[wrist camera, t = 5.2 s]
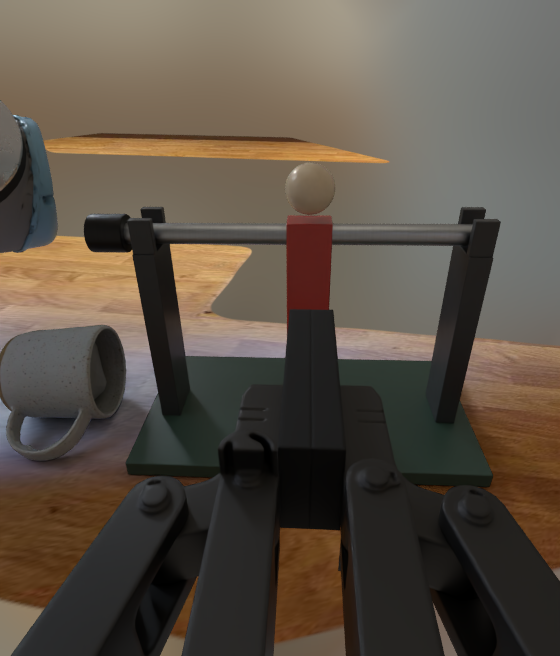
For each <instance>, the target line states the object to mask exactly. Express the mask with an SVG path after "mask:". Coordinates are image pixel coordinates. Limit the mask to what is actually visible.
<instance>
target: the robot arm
mask: <svg viewBox="0 0 560 656" xmlns="http://www.w3.org/2000/svg"><path fill="white" fill-rule="evenodd" d="M57 230H58V223H57V213H56V205H55V200H54V198H53V187H52V179H51V174H50V169H49V164H48V159H47V154H46V150H45V146H44V142H43V138H42V135H41V132H40V129H39V127H38V125H37V123H36V122H34V121H33V120H32V119H31V118H27V117H20V116H18V115H12V113H11V112H10V110H9V109H8V108H7V107H6V105H5V104H4V103H3V102H2V101H1V100H0V253H4V252H12V251H13V252H16V253H18V252H23V251H25V250H27V249H29V248H35V247H40V246H45V245H48V244H50V243H51V242H52V241H53V240H54V239H55V237H56V235H57ZM218 458H219V466H220V473H219V474H218V475H216V476H215V477H213V478H211V479H209V480H207V481H204V482H201V483H197V484H192V485H188V486H183V485H182V484H181V482H180V481H179V480H177V479H175V478H173V477H170V476H156V477H151V478H147V479H146V480H144V481H142V482H140V483H138V484H137V485H136V486H135V487H134V488H133V489H132V490H131V491H130V492H129V493H128V494H127V496H126V497H125V498H124V500H123V501H122V503H121V504H120V505H119V507H118V508H117V509H116V511H115V512H114V514H113V515H112V516H111V518H110V519H109V520H108V522H107V523H106V525H105V526H104V527H103V529H102V530H101V532H100V533H99V534H98V536H97V537H96V538H95V540H94V541H93V543H92V544H91V545H90V547H89V548H88V550H87V551H86V552H85V554H84V555H83V556H82V558H81V559H80V561H79V562H78V563H77V565H76V566H75V567H74V569H73V570H72V572H71V573H70V574H69V576H68V577H67V579H66V580H65V581H64V583H63V584H62V585H61V587H60V588H59V590H58V591H57V592H56V594H55V595H54V596H53V598H52V599H51V601H50V602H49V603H48V605H47V606H46V608H45V609H44V610H43V612H42V613H41V615H40V616H39V617H38V619H37V620H36V621H35V623H34V624H33V626H32V627H31V628H30V630H29V631H28V632H27V634H26V635H25V637H24V638H23V639H22V641H21V642H20V643H19V645H18V647H17V648H16V649H15V650H14V652H13V653H12V655H11V656H160V654H161V652H162V650H163V648H164V646H165V643H166V641H167V639H168V637H169V635H170V633H171V631H172V629H173V627H174V624H175V622H176V620H177V618H178V616H179V614H180V612H181V610H182V608H183V605H184V603H185V601H186V599H187V597H188V595H189V593H190V591H191V588H192V586H193V584H194V582H195V580H196V577H197V576H199V577H198V582H197V586H196V591H195V596H194V600H193V605H192V610H191V614H190V619H189V624H188V628H187V633H186V637H185V642H184V647H183V651H182V656H273V653H274V636H275V619H276V603H277V586H278V570H279V553H280V539H279V535H280V528H302V529H326V530H340V528H341V544H340V556H339V568H338V571H341V579H342V596H343V613H344V631H345V648H346V656H445V655H444V651H443V646H442V642H441V637H440V633H439V629H438V624H437V620H436V616H435V611H434V606H433V603H434V605H435V608H436V610H437V612H438V614H439V616H440V618H441V620H442V623H443V625H444V627H445V629H446V631H447V633H448V636H449V638H450V640H451V642H452V644H453V646H454V648H455V651H456V653H457V655H458V656H560V581H559V580H558V578H557V577H556V575H555V574H554V573H553V571H552V570H551V569H550V567H549V566H548V564H547V563H546V562H545V560H544V559H543V558H542V556H541V555H540V554H539V552H538V551H537V549H536V548H535V547H534V545H533V544H532V543H531V541H530V540H529V538H528V537H527V536H526V534H525V533H524V532H523V530H522V529H521V527H520V526H519V525H518V523H517V522H516V521H515V519H514V518H513V516H512V515H511V514H510V512H509V511H508V510H507V508H506V507H505V505H504V504H503V503H502V502H501V501H500V500H499V499H498V498H497V497H496V496H494V495H493V494H491V493H489V492H488V491H486V490H484V489H482V488H478V487H475V486H471V485H459V486H456V487H453V488H451V489H449V490H448V491H447V492H446V494H445V495H442V494H439V493H436V492H432V491H429V490H426V489H423V488H421V487H418V486H416V485H414V484H413V483H411V482H409V481H408V480H407V479H406V478H405V477H404V476H403V475H402V473H401V472H400V471H399V470H398V469H397V466H396V464H395V460H394V455H393V451H392V446H391V441H390V437H389V432H388V427H387V423H386V418H385V413H384V409H383V404H382V399H381V397H380V395H379V394H378V393H377V392H376V391H375V389H374V388H373V387H372V386H353V385H340V378H339V367H338V356H337V346H336V335H335V324H334V314H333V310H312V309H290V310H289V322H288V334H287V346H286V357H285V369H284V381H283V385H263V384H251V386H250V387H249V388H248V389H247V390H246V391H245V393H244V394H243V395H242V400H241V404H240V410H239V414H238V420H237V424H236V429H235V432H233V433H231V434H229V435H228V436H227V437H225V438H224V439H223V440H222V441H221V443H220V445H219V447H218ZM432 601H433V602H432Z"/></svg>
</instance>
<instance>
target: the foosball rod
mask: <svg viewBox="0 0 560 656" xmlns="http://www.w3.org/2000/svg"><path fill="white" fill-rule="evenodd" d="M285 192H286V197H287V200H288V202H289V203H290V205H291V206H292V207H293V208H294V209H295V210H296V211H298V212H300V213H303V214H307V215H312V214H317V213H320V212H321V211H323V210H325V209H326V208H327V207H328V206H329V205H330V203H331V202H332V200H333V197H334V194H335V182H334V179H333V176H332V175H331V173H330V172H329V170H328V169H326V168H325V167H324V166H322V165H320V164H317V163H312V162H310V163H304V164H301V165H299V166H298V167H296V168H295V169H294V170H293V171H292V172H291V173H290V175H289V176H288V178H287V181H286V185H285ZM129 219H130V216H129V215H127V214H90V215H88V216H87V218H86V220H85V224H84V237H85V241H86V244H87V246H88V248H89V249H90V250H91V251H92V252H130V251H131V250H132V245H131V240H130V234H129V229H128V224H127V220H129ZM472 225H473V224H333V223H332V217H331V216H288V217H287V224H277V223H275V224H269V223H266V224H265V223H251V224H250V223H153V229H154V235H155V241H156V244H267V245H268V244H269V245H270V244H272V245H281V244H282V245H287V334H288V322H289V310H290V309H312V310H329V296H330V275H331V252H332V245H433V246H434V245H435V246H436V245H437V246H438V245H439V246H468V245H469V240H470V235H471V230H472Z"/></svg>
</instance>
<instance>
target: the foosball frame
mask: <svg viewBox="0 0 560 656" xmlns="http://www.w3.org/2000/svg"><path fill="white" fill-rule="evenodd" d="M485 213H486V209H484V208H483V207H480V208H479V207H475V208H474V207H467V208H466V207H462V208H461V211H460V216H459V222H458V224H473V225H472V230H471V235H470V240H469V245H468V246H453V250H452V256H451V261H450V266H449V272H448V277H447V282H446V288H445V293H444V298H443V304H442V309H441V314H440V320H439V325H438V330H437V336H436V341H435V346H434V352H433V357H432V361H402V360H352V359H338V367H339V378H340V385H353V386H372V387H373V388H374V389H375V391H376V392H377V393H378V394H379V395H380V397H381V399H382V404H383V409H384V413H385V418H386V423H387V427H388V432H389V437H390V441H391V446H392V451H393V455H394V460H395V464H396V466H397V469H398V470H399V471H400V472H401V473H402V475H403V476H404V477H405V478H406V479H407V480H408V481H409V482H411V483H413V484H420V485H448V486H459V485H471V486H477V487H490V484H491V481H492V478H493V474H492V472H491V469H490V467H489V465H488V463H487V461H486V458H485V456H484V454H483V452H482V449H481V447H480V445H479V443H478V440H477V438H476V436H475V434H474V431H473V429H472V427H471V425H470V423H469V420H468V418H467V416H466V414H465V411H464V409H463V407H462V405H461V402H460V397H461V392H462V388H463V384H464V380H465V375H466V371H467V367H468V363H469V359H470V354H471V350H472V346H473V342H474V337H475V333H476V328H477V325H478V321H479V316H480V312H481V308H482V304H483V300H484V295H485V291H486V287H487V283H488V278H489V274H490V270H491V266H492V262H493V253H494V248H495V244H496V240H497V236H498V232H499V227H500V223H501V222H500V221H499V220H497V219H484V217H485ZM141 215H142V218H130V219H129V220H127V224H128V229H129V234H130V240H131V245H132V250H133V261H134V266H135V272H136V277H137V282H138V288H139V293H140V298H141V304H142V309H143V314H144V319H145V325H146V330H147V335H148V341H149V346H150V351H151V357H152V362H153V367H154V373H155V378H156V383H157V389H158V394H157V396H156V398H155V400H154V403H153V405H152V407H151V409H150V411H149V413H148V416H147V418H146V420H145V422H144V424H143V427H142V429H141V431H140V433H139V435H138V437H137V440H136V442H135V444H134V446H133V448H132V450H131V453H130V455H129V457H128V459H127V461H126V467H127V471H128V474H133V475H162V476H190V477H215V476H216V475H218V474H219V473H220V466H219V458H218V447H219V445H220V443H221V441H222V440H223V439H224V438H225V437H227V436H228V435H229V434H231V433H233V432H235V429H236V424H237V420H238V414H239V410H240V404H241V400H242V395H243V394H244V393H245V391H246V390H247V389H248V388H249V387H250V386H251V384H263V385H283V381H284V369H285V358H252V357H202V356H185V350H184V343H183V336H182V329H181V322H180V315H179V308H178V301H177V294H176V287H175V280H174V272H173V265H172V258H171V251H170V244H156V241H155V235H154V229H153V223H166V222H165V215H164V208H163V207H143V208H141Z"/></svg>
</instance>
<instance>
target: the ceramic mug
mask: <svg viewBox="0 0 560 656" xmlns="http://www.w3.org/2000/svg"><path fill="white" fill-rule="evenodd" d="M125 383H126V361H125V356H124V351H123V347H122V344H121V341H120V339H119V336H118V334H117V333H116V331H115V330H114V329H112V328H111V327H110V326H107V325H97V326H87V327H75V328H64V329H53V330H38V331H32V332H28V333H24V334H21V335H18V336H16V337H14V338H12V339H11V340H10V341H9V342H8V343H7V344H6V345H5V346H4V348H3V350H2V351H1V353H0V398H1V400H2V401H3V403H4V404H5V406H6V407H7V408H8V409H9V410H11V411H12V412H11V414H10V416H9V419H8V422H7V426H6V436H7V440H8V442H9V443H10V445H11V447H12V448H13V449H14V450H15V451H17V452H18V453H19V454H21V455H22V456H24V457H26V458H27V459H31V460H37V461H45V460H52V459H55V458H58V457H60V456H62V455H64V454H65V453H67V452H68V451H69V450H71V449H72V448H73V447H74V446H75V445H76V444H77V443H78V442H79V440H80V439H81V437H82V436H83V434H84V432H85V430H86V429H87V427H88V424H89V422H90V420H91V419H105V418H108V417H111V416H112V415H113V414H114V413H115V412H116V411H117V409H118V407H119V405H120V403H121V401H122V398H123V394H124V390H125ZM26 416H29V417H39V418H49V417H58V418H77V419H76V420H75V422H74V423H73V425H72V426H71V428H70V429H69V431H68V432H67V433H66V434H65V435H64V436H63V437H62V438H61V439H60V440H59V441H58V442H56V443H54V444H53V445H52V446H50V447H48V448H46V449H44V450H36V449H33V448H32V447H31V446H30V445H23V444H22V443H21V442H20V431H21V426H22V423H23V420H24V418H25V417H26Z"/></svg>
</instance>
